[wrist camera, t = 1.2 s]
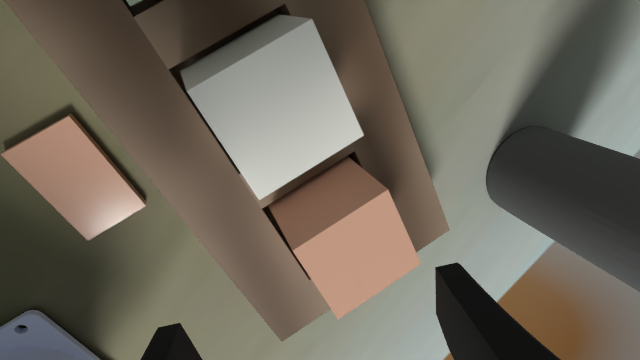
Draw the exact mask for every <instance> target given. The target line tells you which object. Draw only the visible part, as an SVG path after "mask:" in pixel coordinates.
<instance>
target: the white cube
mask: <svg viewBox="0 0 640 360" xmlns="http://www.w3.org/2000/svg"><path fill="white" fill-rule="evenodd" d="M180 73H181V76H182V79H183V82H184V85H185V88H186V91H187V92H188V94H189V95H190V97H191V99H192V100H193V102H194V103H195V105H196V106H197V108H198V109H199V111H200V112H201V114H202V115H203V117H204V118H205V120H206V121H207V123H208V124H209V126H210V127H211V129H212V130H213V132H214V133H215V135H216V136H217V138H218V139H219V141H220V142H221V144H222V145H223V147H224V148H225V150H226V151H227V153H228V154H229V156H230V157H231V159H232V160H233V162H234V163H235V165H236V166H237V168H238V169H239V171H240V172H241V174H242V175H243V177H244V178H245V180H246V181H247V183H248V184H249V186H250V187H251V189H252V190H253V192H254V193H255V195H256V196H257V198H258V199H259V200H261V199H262V198H264V197H266V196H267V195H269V194H270V193H272V192H274V191H275V190H277V189H278V188H280V187H282V186H283V185H285V184H286V183H288V182H290V181H291V180H293V179H295V178H296V177H298V176H299V175H301V174H303V173H304V172H306V171H307V170H309V169H311V168H312V167H314V166H315V165H317V164H319V163H320V162H322V161H324V160H325V159H327V158H328V157H330V156H332V155H333V154H335V153H336V152H338V151H340V150H341V149H343V148H344V147H346V146H348V145H349V144H351V143H353V142H354V141H356V140H357V139H359V138H361V137H362V136H364V134H363V132H362V130H361V127H360V125H359V123H358V121H357V118H356V116H355V114H354V112H353V110H352V107H351V105H350V103H349V101H348V98H347V96H346V94H345V92H344V89H343V87H342V85H341V83H340V80H339V78H338V76H337V74H336V71H335V69H334V67H333V65H332V62H331V60H330V58H329V56H328V53H327V51H326V49H325V47H324V44H323V42H322V40H321V38H320V35H319V33H318V31H317V29H316V26H315V24H314V22H313V20H312V19H310V18H303V17H295V16H288V15H280V14H278V15H277V16H275V17H273V18H271V19H270V20H268V21H266V22H264V23H263V24H261V25H259V26H257V27H256V28H254V29H252V30H250V31H249V32H247V33H245V34H243V35H242V36H240V37H238V38H236V39H235V40H233V41H231V42H229V43H228V44H226V45H224V46H222V47H221V48H219V49H217V50H215V51H214V52H212V53H210V54H208V55H207V56H205V57H203V58H201V59H200V60H198V61H196V62H194V63H192V64H191V65H189V66H187V67H185V68H184V69H182V70H180Z"/></svg>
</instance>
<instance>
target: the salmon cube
mask: <svg viewBox="0 0 640 360" xmlns="http://www.w3.org/2000/svg"><path fill="white" fill-rule="evenodd" d="M268 206H269V208H270V210H271V212H272V214H273V216H274V218H275V219H276V221H277V223H278V225H279V227H280V229H281V230H282V232H283V234H284V236H285V238H286V240H287V242H288V243H289V245H290V247H291V249H292V251H293V252H294V254H295V255H296V257H297V258H298V260H299V261H300V263H301V264H302V266H303V267H304V269H305V270H306V272H307V273H308V275H309V276H310V278H311V279H312V281H313V282H314V284H315V285H316V287H317V288H318V290H319V291H320V293H321V294H322V296H323V297H324V299H325V300H326V302H327V303H328V305H329V307H330V308H331V310H332V311H333V313H334V314H335V316H336V317H337V319H339V318H341V317H342V316H344V315H345V314H347V313H348V312H350V311H351V310H353V309H354V308H356V307H357V306H359V305H360V304H362V303H363V302H365V301H366V300H368V299H369V298H371V297H372V296H374V295H375V294H377V293H378V292H380V291H381V290H383V289H384V288H386V287H387V286H389V285H390V284H392V283H393V282H395V281H396V280H398V279H399V278H401V277H402V276H404V275H405V274H407V273H408V272H410V271H411V270H413V269H414V268H416V267H417V266H418V265H420V264H421V262H420V260H419V258H418V256H417V253H416V251H415V249H414V247H413V244H412V242H411V240H410V238H409V235H408V233H407V231H406V229H405V226H404V224H403V222H402V220H401V217H400V215H399V213H398V211H397V208H396V206H395V204H394V202H393V199H392V197H391V195H390V193H389V190H388V189H387V188H386V187H384V186H383V185H382V184H381V183H380V182H378V181H377V180H376V179H375V178H374V177H372V176H371V175H370V174H369V173H368V172H366V171H365V170H364V169H363V168H361V167H360V166H359V165H358V164H357V163H355V162H354V161H353V160H352V159H351V158H349V157H348V156H347V157H345V158H343V159H342V160H340V161H339V162H337V163H335V164H334V165H332V166H330V167H329V168H327V169H326V170H324V171H322V172H321V173H319V174H318V175H316V176H314V177H313V178H311V179H310V180H308V181H306V182H305V183H303V184H302V185H300V186H298V187H297V188H295V189H294V190H292V191H290V192H289V193H287V194H286V195H284V196H282V197H281V198H279V199H278V200H276V201H274V202H273V203H271V204H270V205H268Z"/></svg>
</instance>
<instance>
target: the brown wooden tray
mask: <svg viewBox="0 0 640 360" xmlns="http://www.w3.org/2000/svg"><path fill="white" fill-rule="evenodd" d="M4 1H5V2H6V4H7V5H8V6H9V7H10V8H11V10H12V11H13V12H14V13H15V15H16V16H17V17H18V18H19V20H20V21H21V22H22V23H23V24H24V26H25V27H26V28H27V29H28V31H29V32H30V33H31V34H32V35H33V37H34V38H35V39H36V40H37V42H38V43H39V44H40V45H41V47H42V48H43V49H44V50H45V51H46V53H47V54H48V55H49V56H50V58H51V59H52V60H53V61H54V63H55V64H56V65H57V66H58V67H59V69H60V70H61V71H62V72H63V74H64V75H65V76H66V77H67V78H68V80H69V81H70V82H71V83H72V85H73V86H74V87H75V88H76V90H77V91H78V92H79V93H80V94H81V96H82V97H83V98H84V99H85V101H86V102H87V103H88V104H89V106H90V107H91V108H92V109H93V110H94V112H95V113H96V114H97V115H98V117H99V118H100V119H101V120H102V121H103V123H104V124H105V125H106V126H107V128H108V129H109V130H110V131H111V133H112V134H113V135H114V136H115V137H116V139H117V140H118V141H119V142H120V144H121V145H122V146H123V147H124V148H125V150H126V151H127V152H128V153H129V155H130V156H131V157H132V158H133V160H134V161H135V162H136V163H137V164H138V166H139V167H140V168H141V169H142V171H143V172H144V173H145V174H146V176H147V177H148V178H149V179H150V180H151V182H152V183H153V184H154V185H155V187H156V188H157V189H158V190H159V191H160V193H161V194H162V195H163V196H164V198H165V199H166V200H167V201H168V203H169V204H170V205H171V206H172V207H173V209H174V210H175V211H176V212H177V214H178V215H179V216H180V217H181V219H182V220H183V221H184V222H185V223H186V225H187V226H188V227H189V228H190V230H191V231H192V232H193V233H194V234H195V236H196V237H197V238H198V239H199V241H200V242H201V243H202V244H203V246H204V247H205V248H206V249H207V250H208V252H209V253H210V254H211V255H212V257H213V258H214V259H215V260H216V262H217V263H218V264H219V265H220V266H221V268H222V269H223V270H224V271H225V273H226V274H227V275H228V276H229V277H230V279H231V280H232V281H233V282H234V284H235V285H236V286H237V287H238V289H239V290H240V291H241V292H242V293H243V295H244V296H245V297H246V298H247V300H248V301H249V302H250V303H251V305H252V306H253V307H254V308H255V309H256V311H257V312H258V313H259V314H260V316H261V317H262V318H263V319H264V320H265V322H266V323H267V324H268V325H269V327H270V328H271V329H272V330H273V332H274V333H275V334H276V335H277V336H278V338H279V339H280V340H281V341H284V340H285V339H287V338H288V337H290V336H291V335H293V334H294V333H296V332H297V331H299V330H300V329H302V328H303V327H305V326H306V325H308V324H309V323H311V322H312V321H314V320H315V319H317V318H318V317H320V316H321V315H323V314H324V313H326V312H327V311H329V310H330V309H331V308H330V307H329V305H328V303H327V302H326V300H325V299H324V297H323V296H322V294H321V293H320V291H319V290H318V288H317V287H316V285H315V284H314V282H313V281H312V279H311V278H310V276H309V275H308V273H307V272H306V270H305V269H304V267H303V266H302V264H301V263H300V261H299V260H298V258H297V257H296V255H295V254H294V252H293V251H292V249H291V247H290V245H289V243H288V242H287V240H286V238H285V236H284V234H283V232H282V230H281V229H280V227H279V225H278V223H277V221H276V219H275V218H274V216H273V214H272V212H271V210H270V208H269V206H268V205H270V204H271V203H273V202H274V201H276V200H278V199H279V198H281V197H282V196H284V195H286V194H287V193H289V192H290V191H292V190H294V189H295V188H297V187H298V186H300V185H302V184H303V183H305V182H306V181H308V180H310V179H311V178H313V177H314V176H316V175H318V174H319V173H321V172H322V171H324V170H326V169H327V168H329V167H330V166H332V165H334V164H335V163H337V162H339V161H340V160H342V159H343V158H345V157H347V156H348V157H349V158H351V159H352V160H353V161H354V162H355V163H357V164H358V165H359V166H360V167H361V168H363V169H364V170H365V171H366V172H368V173H369V174H370V175H371V176H372V177H374V178H375V179H376V180H377V181H378V182H380V183H381V184H382V185H383V186H384V187H386V188H387V189H388V190H389V193H390V195H391V197H392V199H393V202H394V204H395V206H396V208H397V211H398V213H399V215H400V217H401V220H402V222H403V224H404V226H405V229H406V231H407V233H408V235H409V238H410V240H411V242H412V244H413V247H414V249H415V251H416V252H417V251H419V250H420V249H422V248H423V247H425V246H426V245H428V244H429V243H431V242H432V241H434V240H435V239H437V238H438V237H440V236H441V235H443V234H444V233H446V232H447V231H449V230H450V229H449V227H448V224H447V221H446V218H445V216H444V213H443V210H442V208H441V205H440V202H439V200H438V197H437V194H436V191H435V189H434V186H433V183H432V181H431V178H430V175H429V173H428V170H427V167H426V164H425V162H424V159H423V156H422V154H421V151H420V148H419V146H418V143H417V140H416V137H415V135H414V132H413V129H412V127H411V124H410V121H409V119H408V116H407V113H406V111H405V108H404V105H403V102H402V100H401V97H400V94H399V92H398V89H397V86H396V84H395V81H394V78H393V75H392V73H391V70H390V67H389V65H388V62H387V59H386V57H385V54H384V51H383V48H382V46H381V43H380V40H379V38H378V35H377V32H376V30H375V27H374V24H373V21H372V19H371V16H370V13H369V11H368V8H367V5H366V3H365V0H143V1H141V2H139V3H137V4H135V5H132V6H130V5H129V4H128V2H127V1H126V0H4ZM278 14H280V15H288V16H295V17H303V18H310V19H312V20H313V22H314V24H315V26H316V29H317V31H318V33H319V35H320V38H321V40H322V42H323V44H324V47H325V49H326V51H327V53H328V56H329V58H330V60H331V62H332V65H333V67H334V69H335V71H336V74H337V76H338V78H339V80H340V83H341V85H342V87H343V89H344V92H345V94H346V96H347V98H348V101H349V103H350V105H351V107H352V110H353V112H354V114H355V116H356V118H357V121H358V123H359V125H360V127H361V130H362V132H363V134H364V136H362V137H361V138H359V139H357V140H356V141H354V142H353V143H351V144H349V145H348V146H346V147H344V148H343V149H341V150H340V151H338V152H336V153H335V154H333V155H332V156H330V157H328V158H327V159H325V160H324V161H322V162H320V163H319V164H317V165H315V166H314V167H312V168H311V169H309V170H307V171H306V172H304V173H303V174H301V175H299V176H298V177H296V178H295V179H293V180H291V181H290V182H288V183H286V184H285V185H283V186H282V187H280V188H278V189H277V190H275V191H274V192H272V193H270V194H269V195H267V196H266V197H264V198H262V199H261V200H259V199H258V198H257V196H256V195H255V193H254V192H253V190H252V189H251V187H250V186H249V184H248V183H247V181H246V180H245V178H244V177H243V175H242V174H241V172H240V171H239V169H238V168H237V166H236V165H235V163H234V162H233V160H232V159H231V157H230V156H229V154H228V153H227V151H226V150H225V148H224V147H223V145H222V144H221V142H220V141H219V139H218V138H217V136H216V135H215V133H214V132H213V130H212V129H211V127H210V126H209V124H208V123H207V121H206V120H205V118H204V117H203V115H202V114H201V112H200V111H199V109H198V108H197V106H196V105H195V103H194V102H193V100H192V99H191V97H190V95H189V94H188V92H187V91H186V88H185V85H184V82H183V79H182V76H181V73H180V70H182V69H184V68H185V67H187V66H189V65H191V64H192V63H194V62H196V61H198V60H200V59H201V58H203V57H205V56H207V55H208V54H210V53H212V52H214V51H215V50H217V49H219V48H221V47H222V46H224V45H226V44H228V43H229V42H231V41H233V40H235V39H236V38H238V37H240V36H242V35H243V34H245V33H247V32H249V31H250V30H252V29H254V28H256V27H257V26H259V25H261V24H263V23H264V22H266V21H268V20H270V19H271V18H273V17H275V16H277V15H278Z"/></svg>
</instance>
